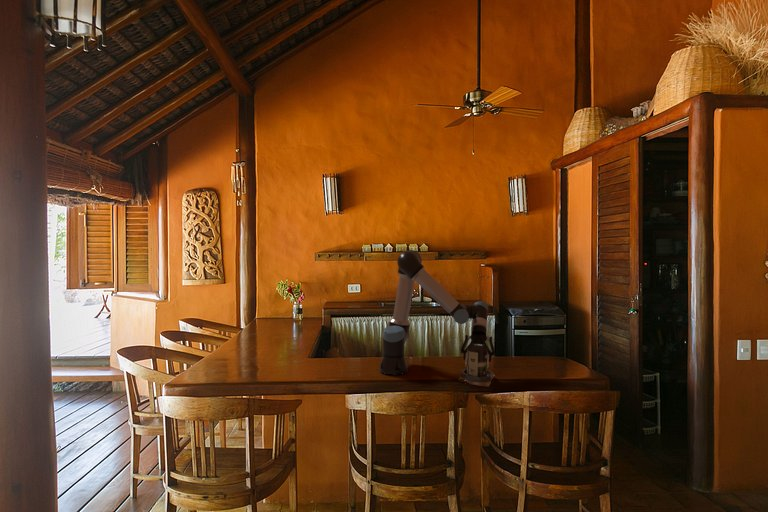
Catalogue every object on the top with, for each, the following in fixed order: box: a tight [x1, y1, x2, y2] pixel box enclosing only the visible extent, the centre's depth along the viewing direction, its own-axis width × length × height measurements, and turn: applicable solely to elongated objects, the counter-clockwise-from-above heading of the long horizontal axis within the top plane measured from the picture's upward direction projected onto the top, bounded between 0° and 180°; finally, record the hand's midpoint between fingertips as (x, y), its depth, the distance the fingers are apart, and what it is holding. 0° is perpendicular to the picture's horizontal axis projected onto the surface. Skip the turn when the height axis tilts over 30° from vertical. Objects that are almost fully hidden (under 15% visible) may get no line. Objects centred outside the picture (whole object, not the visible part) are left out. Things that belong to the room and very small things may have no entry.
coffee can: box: [466, 344, 489, 377], centre depth 241 cm, size 10×10×14 cm
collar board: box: [459, 367, 496, 388], centre depth 241 cm, size 15×15×4 cm
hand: (476, 366), depth 238 cm, fingers closed on coffee can, 10 cm apart
